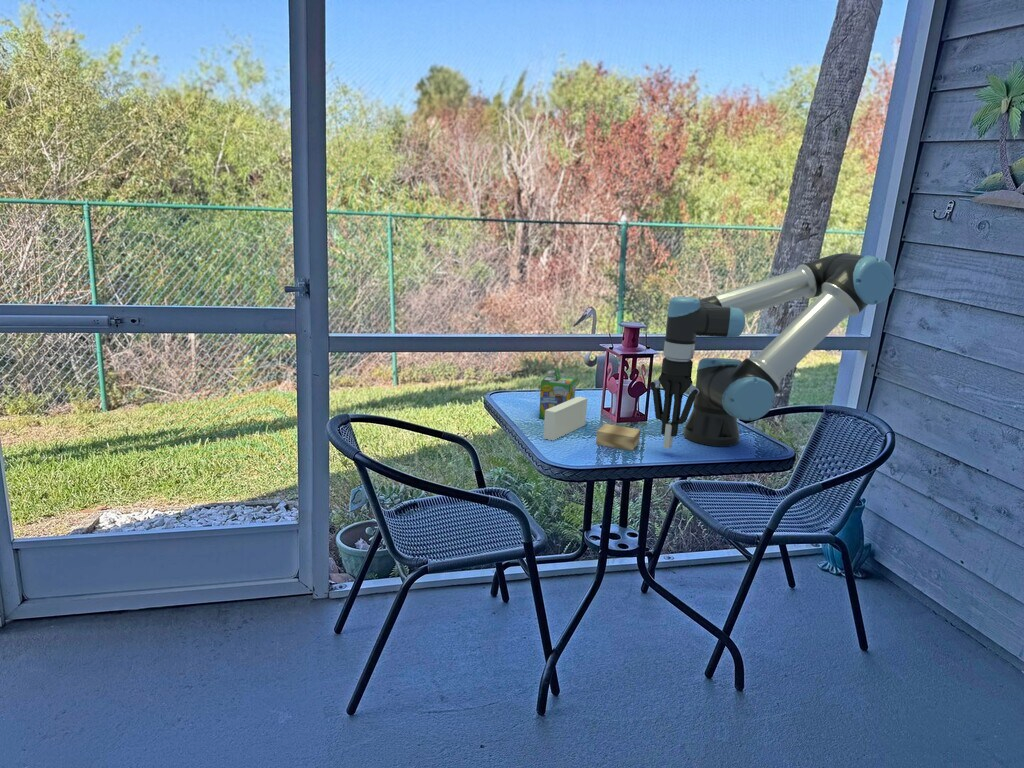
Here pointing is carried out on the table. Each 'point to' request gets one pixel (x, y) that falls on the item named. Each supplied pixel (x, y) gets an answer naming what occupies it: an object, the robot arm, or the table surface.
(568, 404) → the white board
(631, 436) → the oak block
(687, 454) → the table surface
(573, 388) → the chalk box
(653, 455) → the table surface
